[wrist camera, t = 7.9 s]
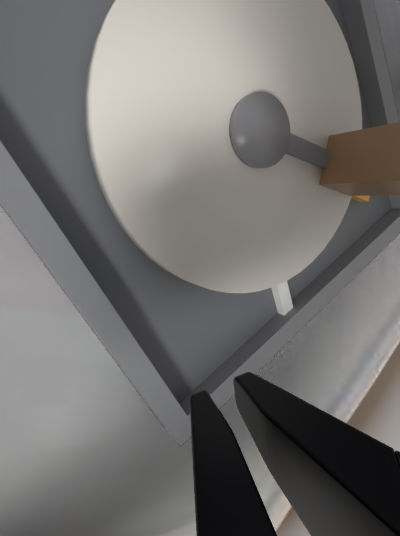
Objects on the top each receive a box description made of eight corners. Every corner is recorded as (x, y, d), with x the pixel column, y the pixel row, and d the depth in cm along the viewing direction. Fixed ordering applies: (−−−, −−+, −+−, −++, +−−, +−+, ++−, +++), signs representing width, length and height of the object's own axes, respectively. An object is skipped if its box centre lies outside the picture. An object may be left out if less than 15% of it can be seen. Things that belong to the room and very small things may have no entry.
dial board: (161, 423, 18) (180, 446, 16) (-185, -48, 10) (-218, -100, 8) (388, 214, 25) (418, 214, 23) (295, -161, 17) (330, -200, 15)
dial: (54, 270, 13) (198, 391, 5) (120, -141, 12) (442, -900, 4) (316, 300, 21) (552, 366, 12) (368, 46, 20) (661, -71, 11)
